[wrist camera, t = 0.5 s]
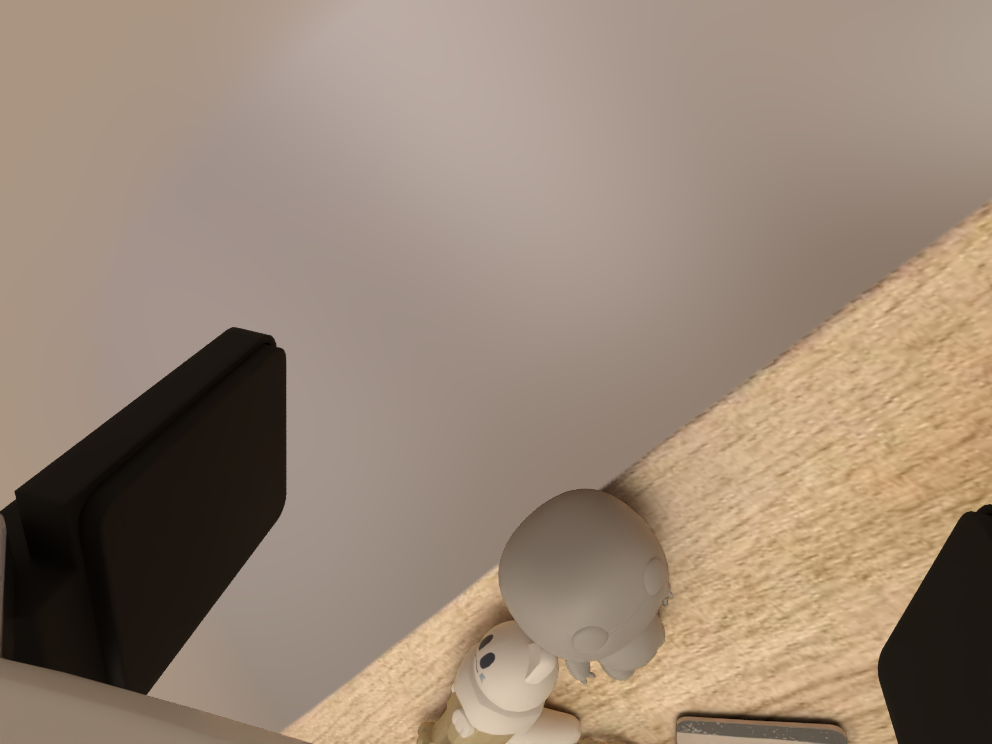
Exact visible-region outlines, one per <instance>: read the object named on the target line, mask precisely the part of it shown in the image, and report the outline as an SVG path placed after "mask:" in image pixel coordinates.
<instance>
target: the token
mask: <svg viewBox="0 0 992 744" xmlns="http://www.w3.org/2000/svg"><path fill="white" fill-rule="evenodd" d="M676 725H677V744H848V742H847V737H846V733H845V732H844V731H843V729H841V728H839V727H838V726H835V725H830V724H812V723H792V722H771V721H752V720H736V719H720V718H703V717H682V718H680V719H679V720H678V721H677V724H676Z"/></svg>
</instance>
